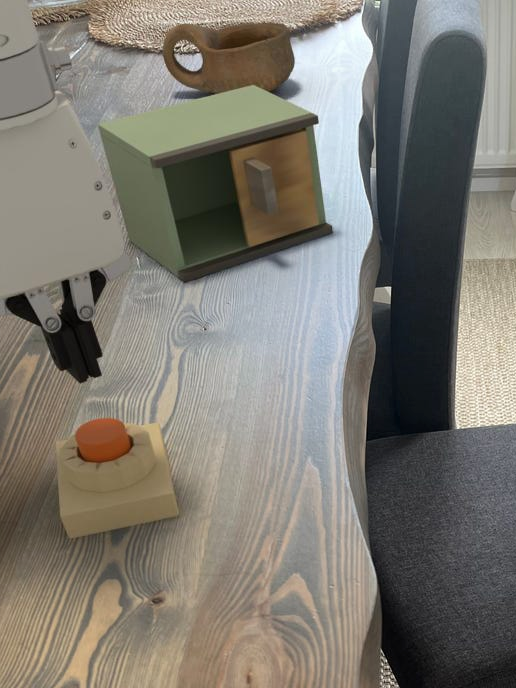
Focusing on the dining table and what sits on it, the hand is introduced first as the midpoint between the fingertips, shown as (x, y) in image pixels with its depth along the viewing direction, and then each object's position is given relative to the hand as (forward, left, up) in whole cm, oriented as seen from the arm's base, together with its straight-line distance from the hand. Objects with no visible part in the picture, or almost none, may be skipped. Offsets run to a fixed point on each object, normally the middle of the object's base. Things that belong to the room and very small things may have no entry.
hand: (83, 372), depth 70 cm
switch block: (0, 0, -10) cm, 10 cm away
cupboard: (+29, +36, -10) cm, 48 cm away
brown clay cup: (+53, +78, -11) cm, 95 cm away
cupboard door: (+32, +28, -9) cm, 44 cm away
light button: (0, 0, -7) cm, 7 cm away
